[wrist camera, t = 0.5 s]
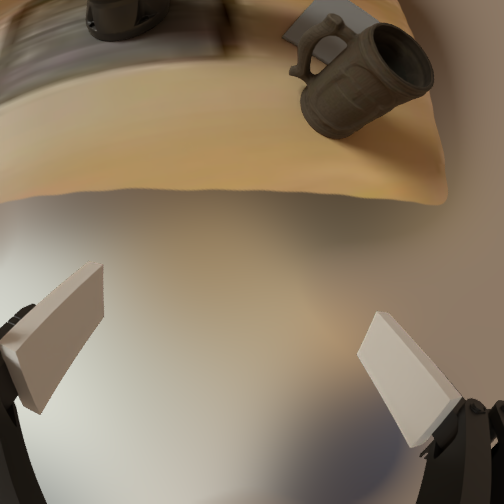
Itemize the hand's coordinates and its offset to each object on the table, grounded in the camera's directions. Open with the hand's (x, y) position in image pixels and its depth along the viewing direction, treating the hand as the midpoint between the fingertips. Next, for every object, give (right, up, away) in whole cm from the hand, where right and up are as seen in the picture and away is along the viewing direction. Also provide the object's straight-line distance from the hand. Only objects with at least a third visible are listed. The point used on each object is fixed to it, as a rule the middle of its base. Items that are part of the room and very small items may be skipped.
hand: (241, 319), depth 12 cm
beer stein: (+11, +27, +27) cm, 39 cm away
